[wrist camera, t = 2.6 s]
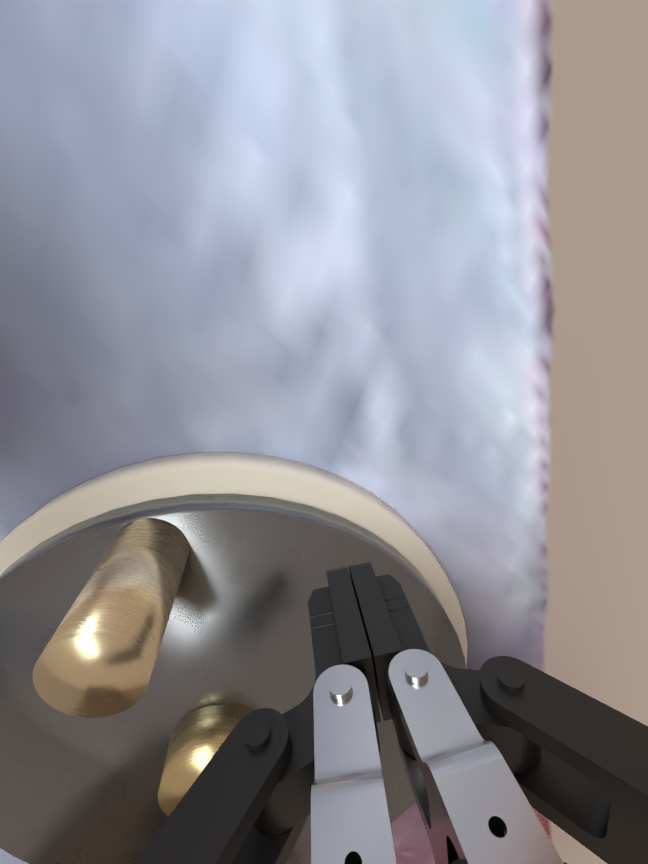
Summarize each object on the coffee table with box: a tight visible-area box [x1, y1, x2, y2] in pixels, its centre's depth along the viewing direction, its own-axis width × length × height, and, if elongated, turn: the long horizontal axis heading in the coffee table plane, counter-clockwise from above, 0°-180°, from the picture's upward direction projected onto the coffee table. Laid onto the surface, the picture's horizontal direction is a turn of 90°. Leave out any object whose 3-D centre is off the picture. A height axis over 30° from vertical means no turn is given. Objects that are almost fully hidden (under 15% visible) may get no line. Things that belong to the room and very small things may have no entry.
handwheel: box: [0, 494, 466, 864], centre depth 19 cm, size 27×27×8 cm
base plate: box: [0, 452, 468, 668], centre depth 24 cm, size 29×29×2 cm
